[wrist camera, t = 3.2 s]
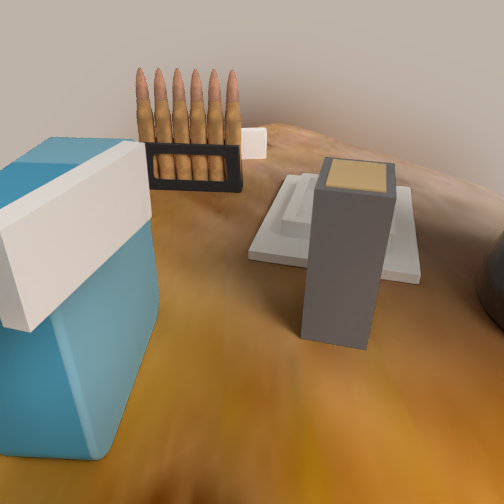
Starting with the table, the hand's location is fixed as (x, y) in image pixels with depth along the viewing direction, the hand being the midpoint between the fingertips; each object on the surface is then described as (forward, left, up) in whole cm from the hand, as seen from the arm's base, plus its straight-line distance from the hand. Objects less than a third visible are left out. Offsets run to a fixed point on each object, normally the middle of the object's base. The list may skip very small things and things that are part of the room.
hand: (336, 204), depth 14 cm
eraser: (+13, -39, -13) cm, 44 cm away
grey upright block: (-1, -10, -13) cm, 16 cm away
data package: (+12, -2, -13) cm, 18 cm away
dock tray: (0, -24, -13) cm, 27 cm away
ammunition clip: (+16, -28, -13) cm, 35 cm away
